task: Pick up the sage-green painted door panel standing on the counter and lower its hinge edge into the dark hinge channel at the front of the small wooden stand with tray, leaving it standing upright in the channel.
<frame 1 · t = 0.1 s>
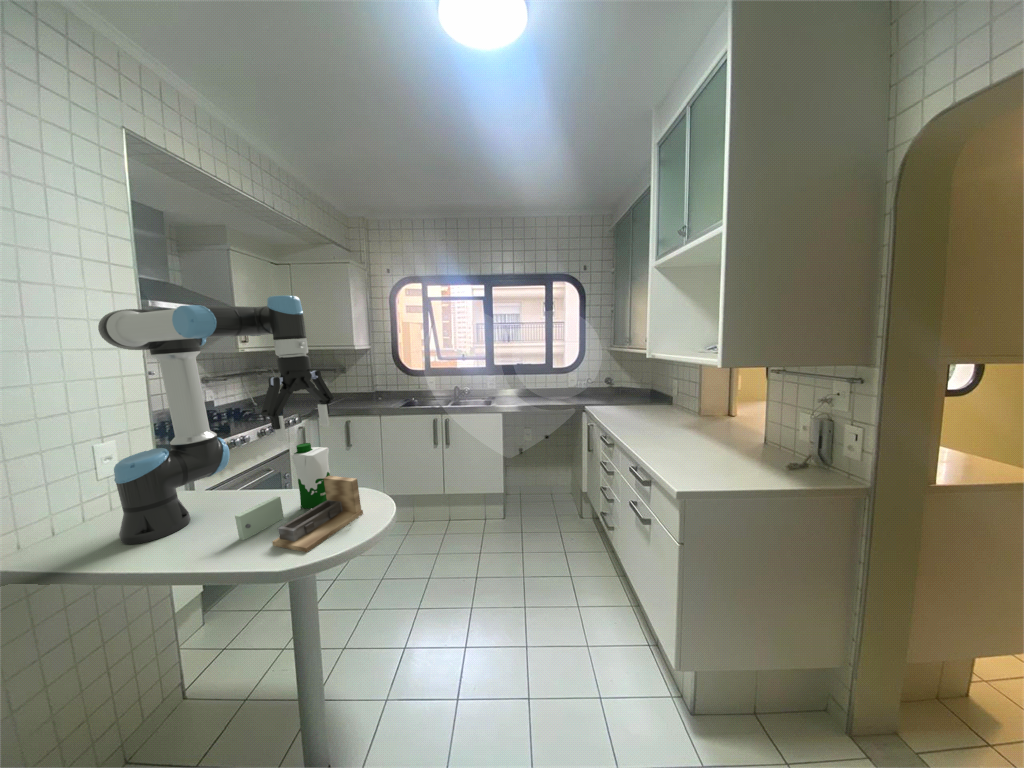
hand: (304, 433, 101), 28 cm above the counter, fingers open, 13 cm apart
milk carton: (318, 504, 121), on the counter
wooden stand with tray: (321, 528, 105), on the counter
door: (262, 528, 108), on the counter
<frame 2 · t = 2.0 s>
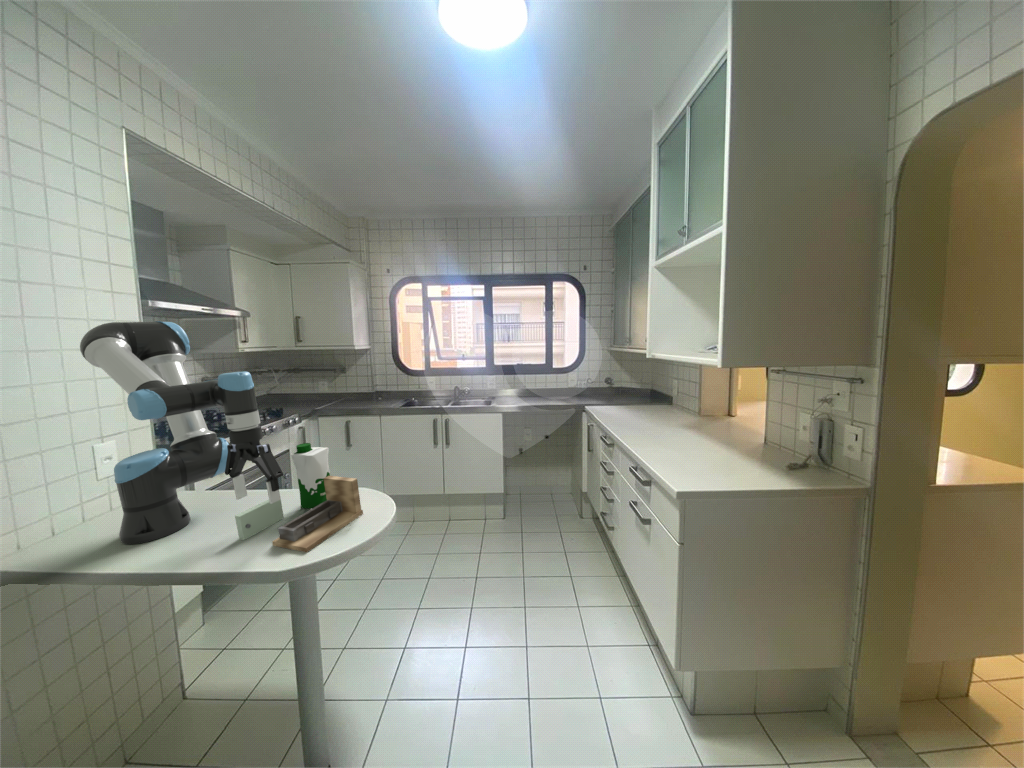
hand: (258, 499, 106), 9 cm above the counter, fingers open, 13 cm apart
nothing on the counter moved.
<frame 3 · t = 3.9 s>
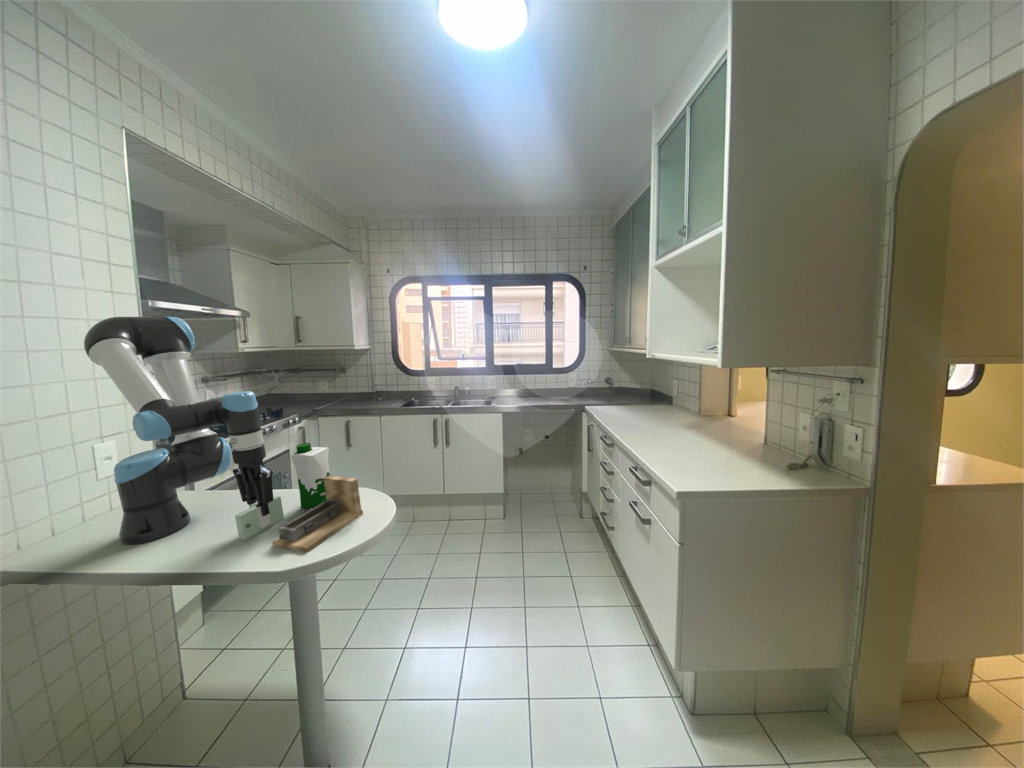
hand: (262, 524, 107), 1 cm above the counter, fingers closed on door, 2 cm apart
door: (262, 528, 108), on the counter, touching gripper
everything else where it was.
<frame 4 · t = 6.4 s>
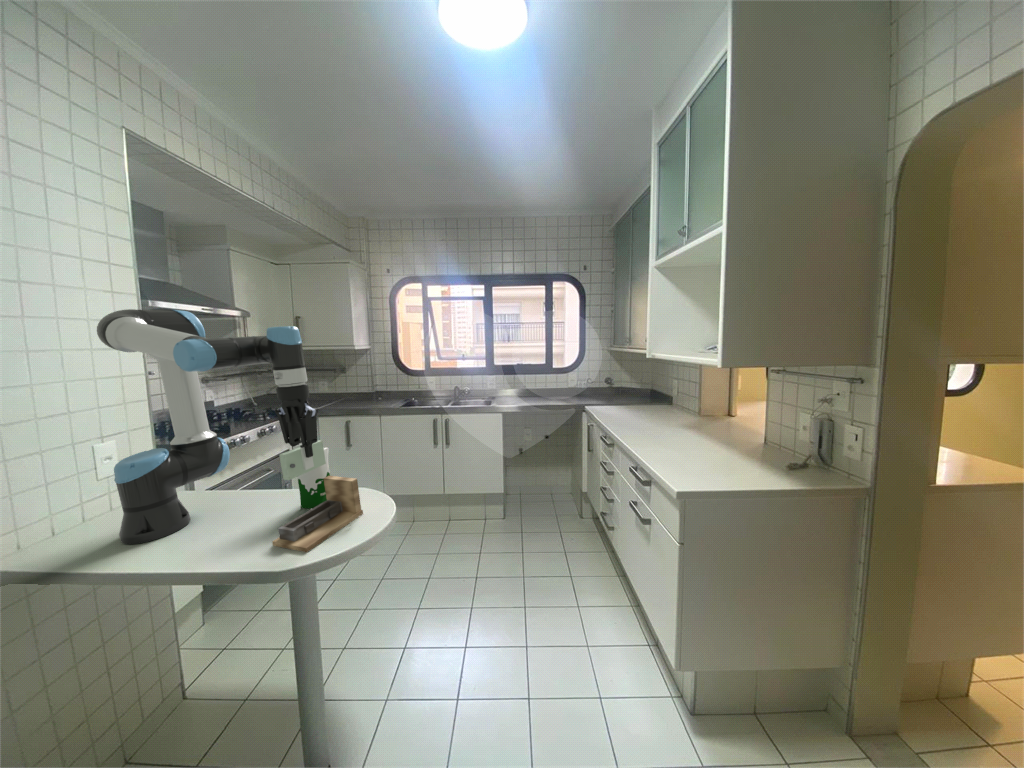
hand: (305, 467, 103), 18 cm above the counter, fingers closed on door, 2 cm apart
door: (305, 471, 103), point 17 cm above the counter, touching gripper
everything else where it was.
when the fingers open (5 cm above the counter, at t = 9.1 s): door drops 3 cm, resting on wooden stand with tray.
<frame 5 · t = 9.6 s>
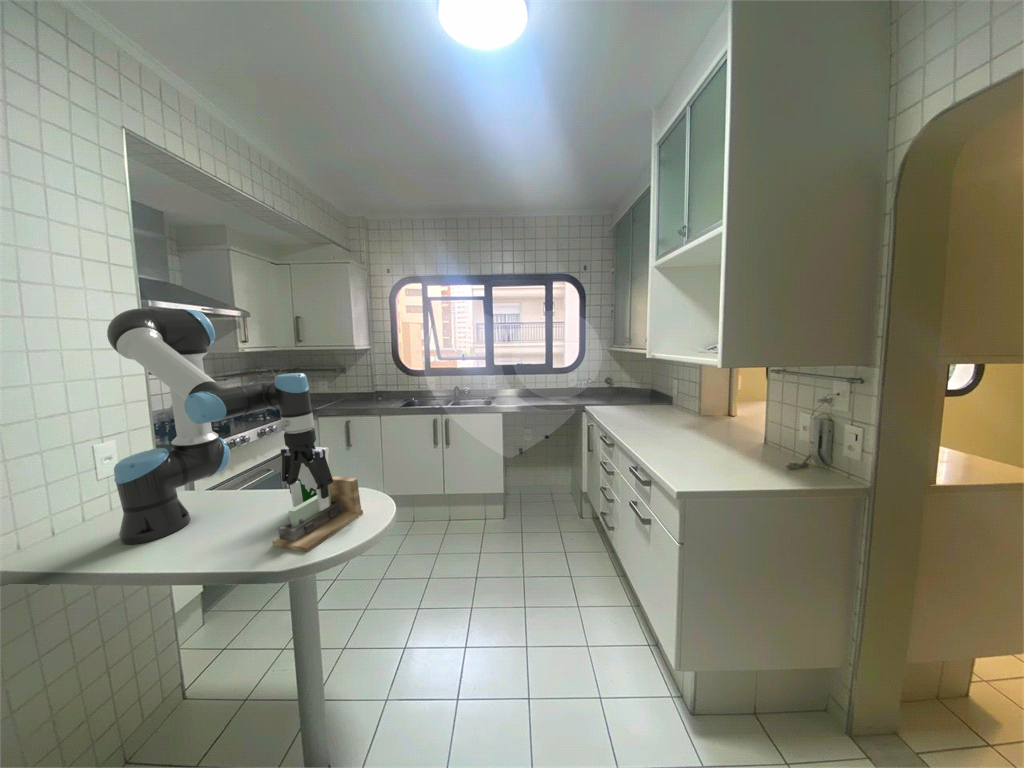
hand: (311, 506, 105), 6 cm above the counter, fingers open, 9 cm apart
door: (313, 523, 106), point 1 cm above the counter, touching wooden stand with tray
everything else where it was.
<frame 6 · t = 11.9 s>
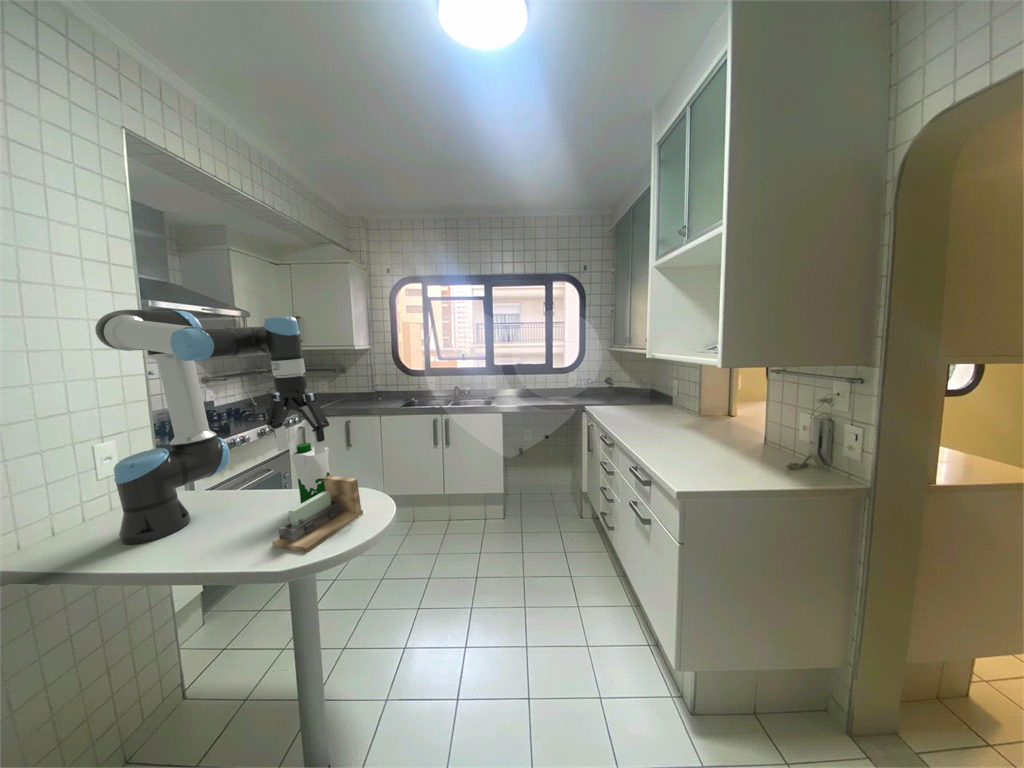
hand: (301, 451, 103), 23 cm above the counter, fingers open, 13 cm apart
nothing on the counter moved.
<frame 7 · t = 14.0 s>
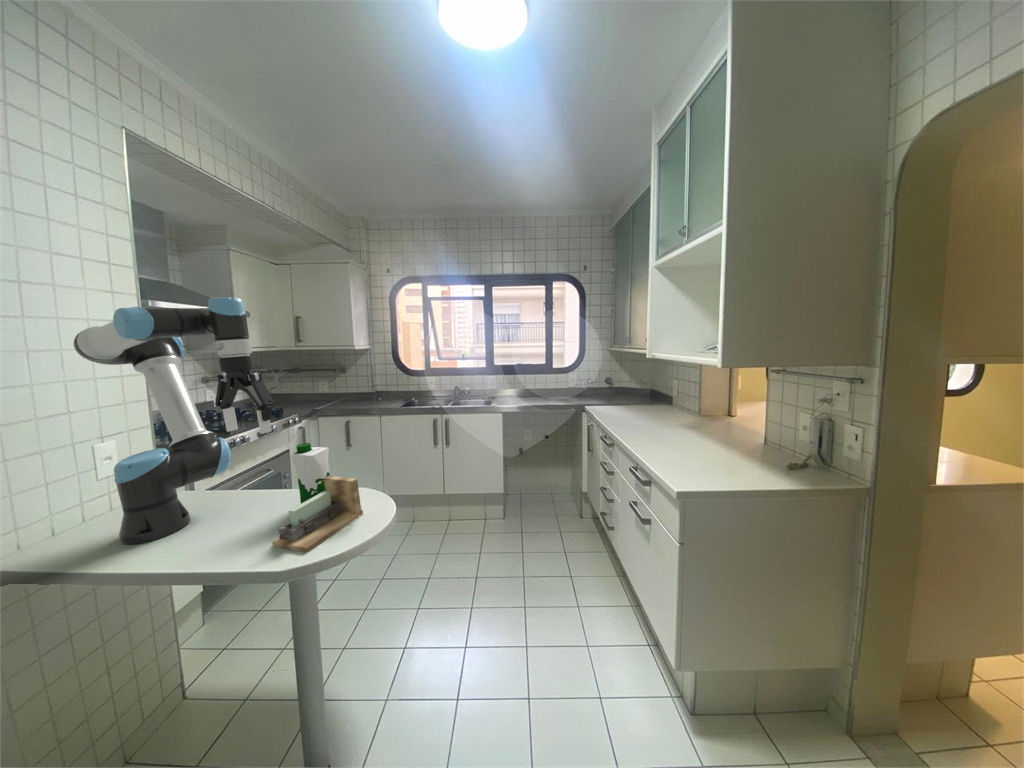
hand: (249, 431, 104), 29 cm above the counter, fingers open, 13 cm apart
nothing on the counter moved.
at the end: door 0.1 cm from the target spot on the wooden stand with tray, point 1.2 cm above the wooden stand with tray's base; door tilted 0°; the gripper is holding nothing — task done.
